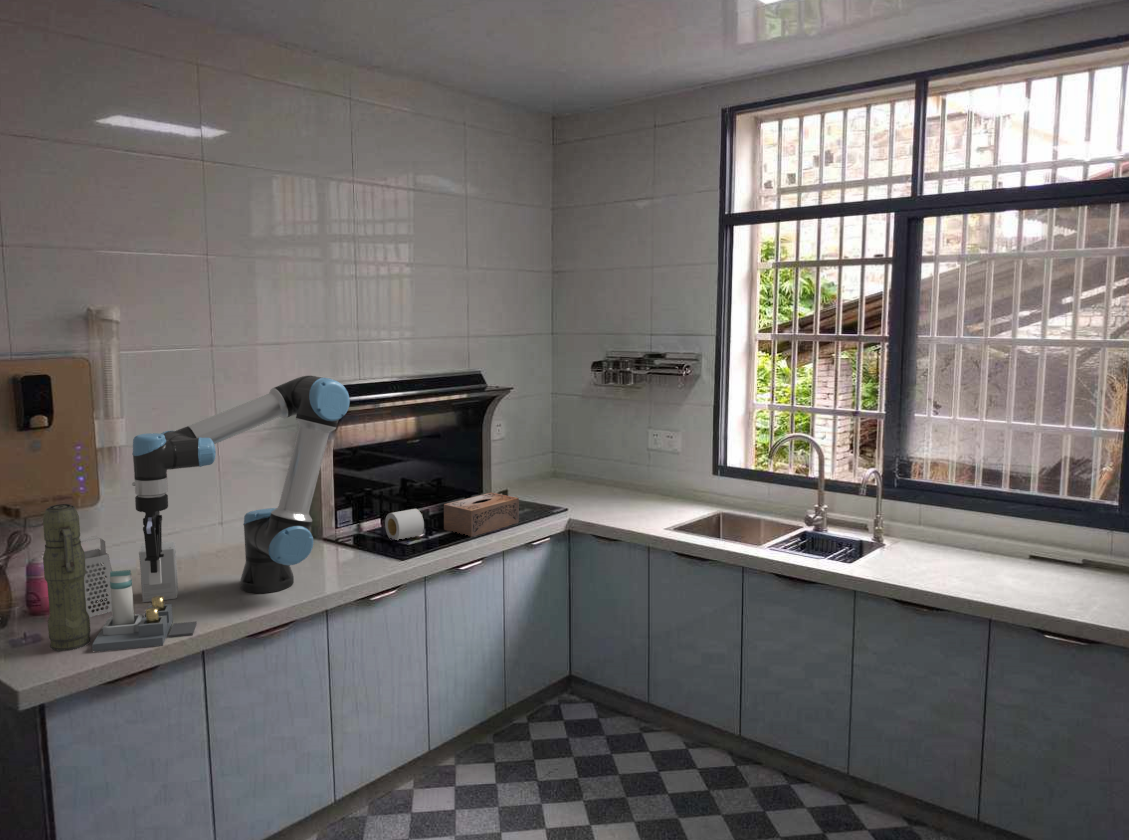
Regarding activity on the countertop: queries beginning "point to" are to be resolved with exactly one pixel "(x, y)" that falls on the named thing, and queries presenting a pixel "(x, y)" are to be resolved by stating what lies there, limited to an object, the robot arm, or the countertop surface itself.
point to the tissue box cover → (481, 514)
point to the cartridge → (122, 597)
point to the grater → (97, 578)
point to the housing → (134, 632)
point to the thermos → (65, 579)
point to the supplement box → (167, 572)
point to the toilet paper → (404, 524)
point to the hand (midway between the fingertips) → (155, 583)
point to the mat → (182, 629)
